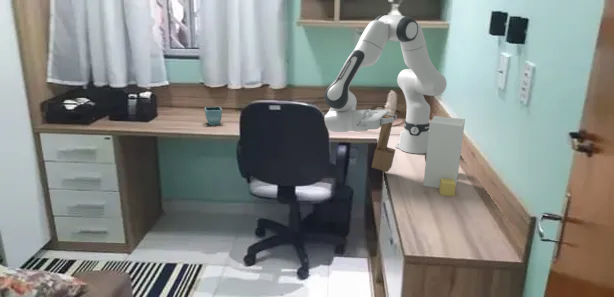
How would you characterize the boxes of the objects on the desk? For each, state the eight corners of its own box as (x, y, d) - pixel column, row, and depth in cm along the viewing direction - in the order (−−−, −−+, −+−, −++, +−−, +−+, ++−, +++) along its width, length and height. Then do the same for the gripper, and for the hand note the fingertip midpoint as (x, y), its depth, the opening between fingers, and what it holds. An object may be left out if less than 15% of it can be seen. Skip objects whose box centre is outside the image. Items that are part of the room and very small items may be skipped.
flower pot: (204, 122, 283) (204, 107, 280) (220, 121, 286) (220, 106, 283) (206, 126, 275) (206, 110, 272) (222, 125, 278) (222, 109, 275)
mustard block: (439, 190, 194) (440, 178, 193) (452, 191, 194) (453, 179, 193) (440, 195, 190) (442, 183, 188) (454, 196, 189) (455, 184, 188)
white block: (427, 176, 209) (434, 115, 202) (457, 180, 205) (465, 119, 198) (423, 185, 199) (430, 122, 191) (454, 190, 195) (462, 126, 187)
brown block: (386, 113, 206) (403, 117, 204) (375, 162, 214) (391, 166, 211) (382, 117, 200) (399, 121, 197) (371, 167, 207) (387, 172, 205)
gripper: (354, 118, 197) (388, 116, 191) (368, 108, 215) (399, 105, 210) (356, 134, 199) (390, 132, 193) (369, 122, 217) (401, 120, 211)
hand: (395, 118), depth 201 cm, fingers closed on brown block, 3 cm apart
